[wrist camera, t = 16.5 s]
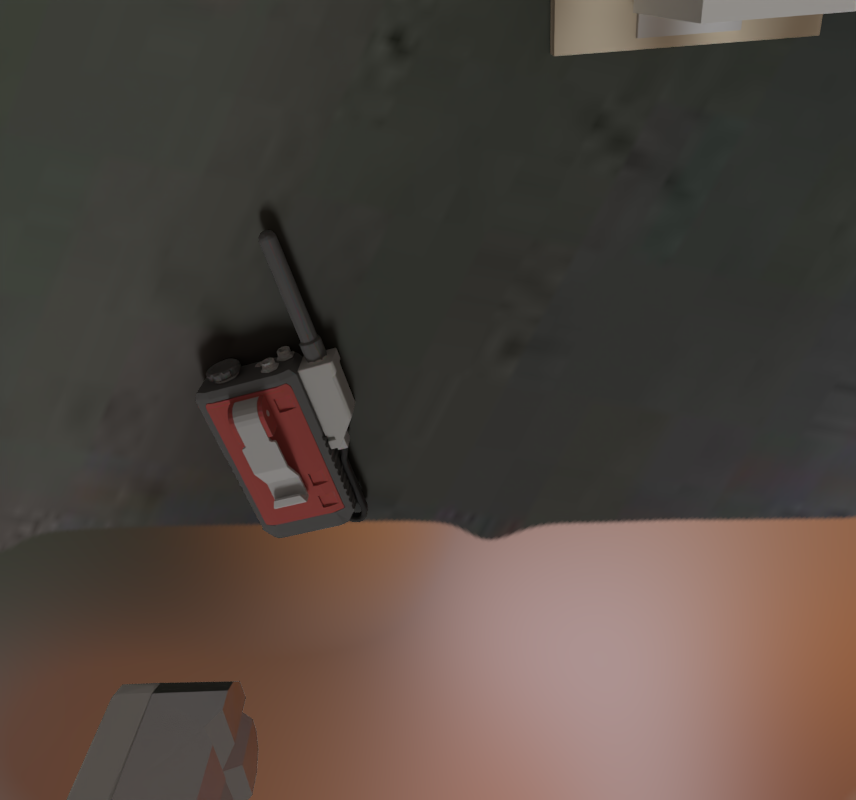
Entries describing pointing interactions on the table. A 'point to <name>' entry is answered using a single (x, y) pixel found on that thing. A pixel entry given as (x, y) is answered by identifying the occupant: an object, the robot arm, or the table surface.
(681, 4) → the block
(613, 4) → the rail board
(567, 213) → the table surface
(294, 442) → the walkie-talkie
